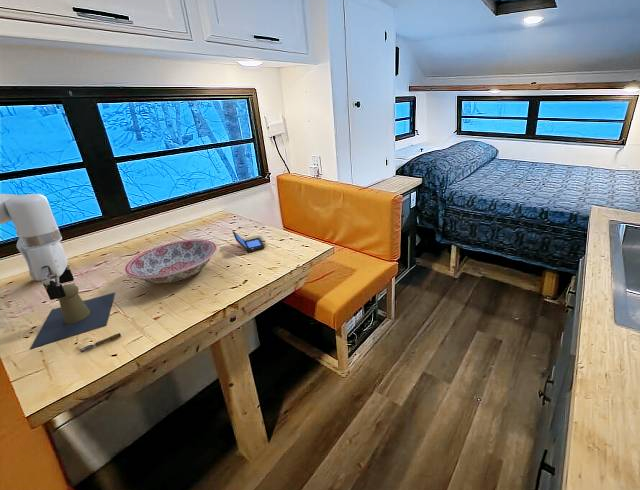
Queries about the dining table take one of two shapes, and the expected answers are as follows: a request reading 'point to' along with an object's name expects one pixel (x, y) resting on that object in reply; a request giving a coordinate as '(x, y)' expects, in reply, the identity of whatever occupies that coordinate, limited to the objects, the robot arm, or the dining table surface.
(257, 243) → the handheld console
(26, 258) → the plastic bottle
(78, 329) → the mat
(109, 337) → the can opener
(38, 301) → the dining table surface
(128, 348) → the dining table surface
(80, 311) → the cork
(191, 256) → the ceramic bowl
